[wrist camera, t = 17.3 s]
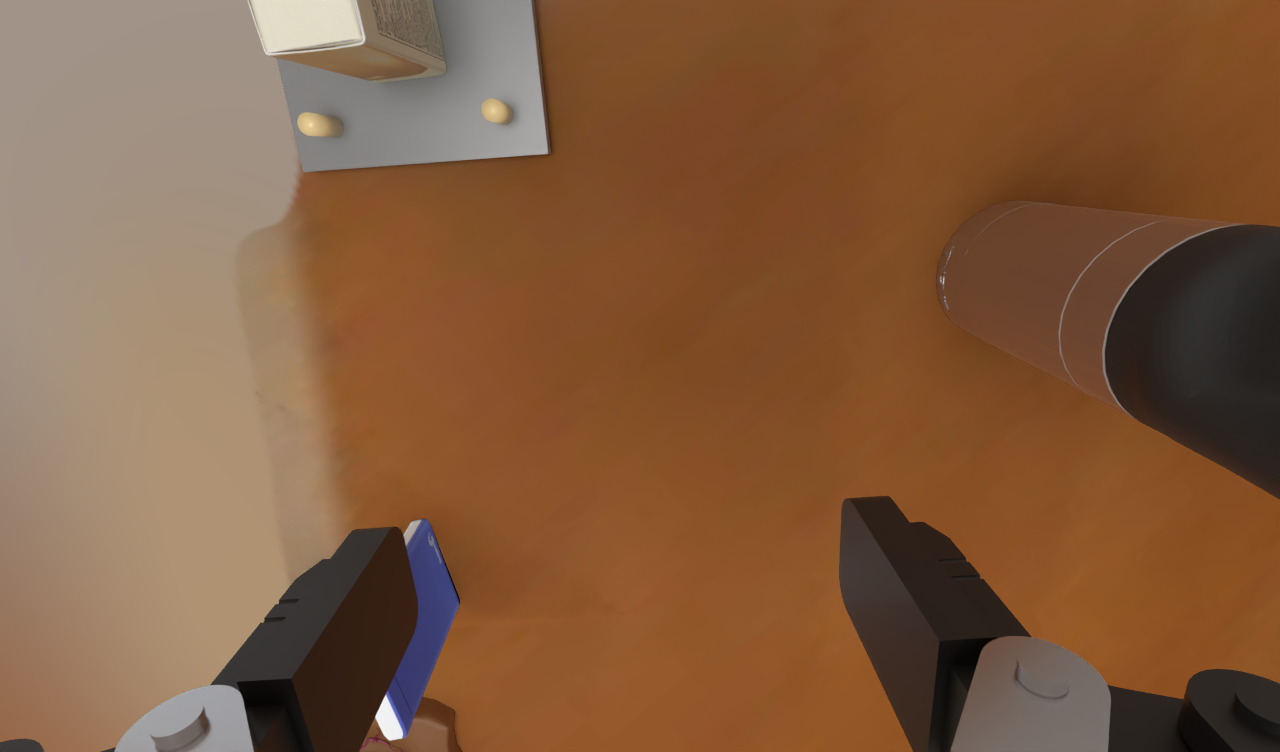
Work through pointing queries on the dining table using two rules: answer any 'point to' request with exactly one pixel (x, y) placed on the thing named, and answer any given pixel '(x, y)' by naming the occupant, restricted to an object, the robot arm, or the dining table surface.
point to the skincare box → (354, 36)
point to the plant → (419, 732)
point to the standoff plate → (431, 98)
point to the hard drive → (420, 630)
